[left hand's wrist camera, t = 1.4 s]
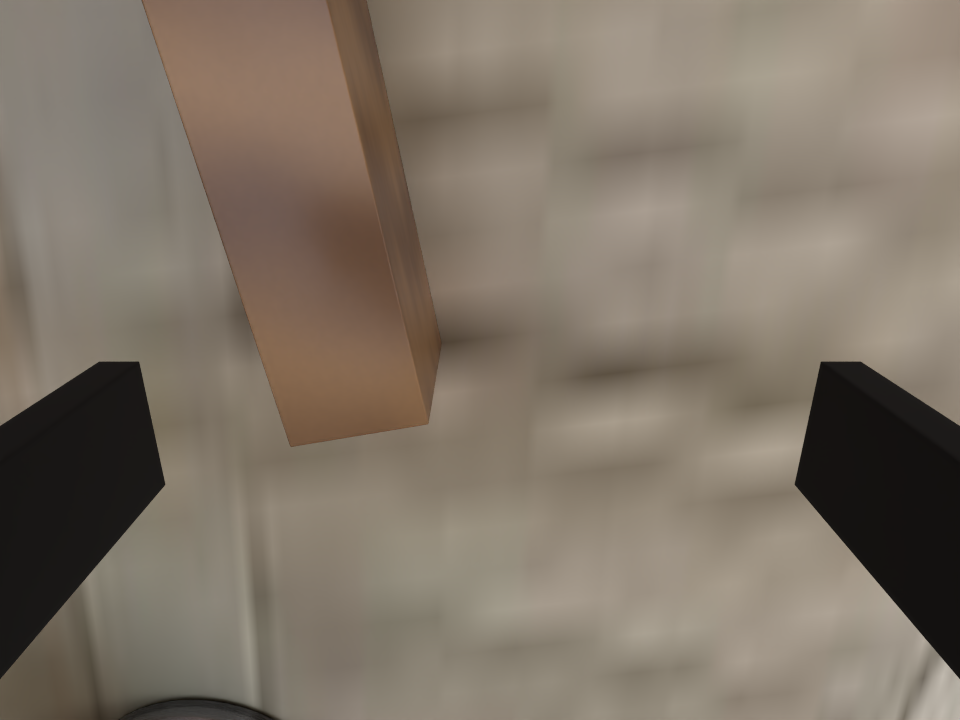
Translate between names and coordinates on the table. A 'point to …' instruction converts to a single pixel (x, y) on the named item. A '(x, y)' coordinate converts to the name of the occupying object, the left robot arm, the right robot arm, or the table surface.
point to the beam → (308, 205)
